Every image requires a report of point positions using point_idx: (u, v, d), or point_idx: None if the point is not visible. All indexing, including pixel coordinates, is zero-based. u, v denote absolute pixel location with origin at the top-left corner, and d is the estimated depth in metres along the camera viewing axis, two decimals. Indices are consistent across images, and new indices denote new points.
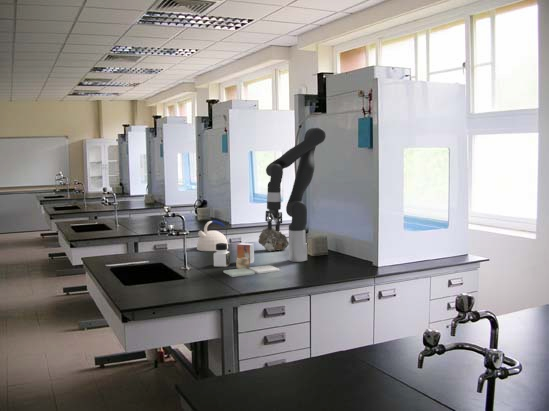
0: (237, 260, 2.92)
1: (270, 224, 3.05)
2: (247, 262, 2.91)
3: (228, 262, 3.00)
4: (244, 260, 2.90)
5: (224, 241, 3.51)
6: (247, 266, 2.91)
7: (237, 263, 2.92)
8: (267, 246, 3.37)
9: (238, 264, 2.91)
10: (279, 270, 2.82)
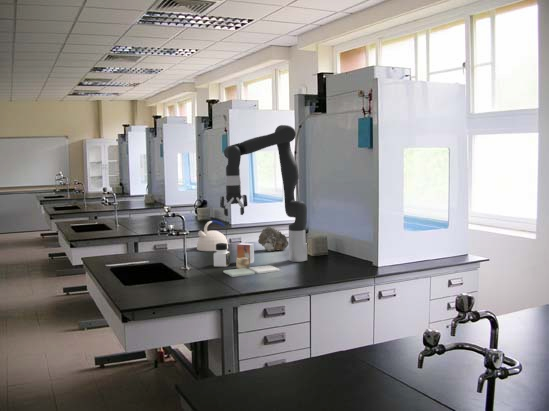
0: (237, 260, 2.92)
1: None
2: (247, 262, 2.91)
3: (228, 262, 3.00)
4: (244, 260, 2.90)
5: (224, 241, 3.51)
6: (247, 266, 2.91)
7: (237, 263, 2.92)
8: (267, 246, 3.38)
9: (238, 264, 2.91)
10: (279, 270, 2.82)
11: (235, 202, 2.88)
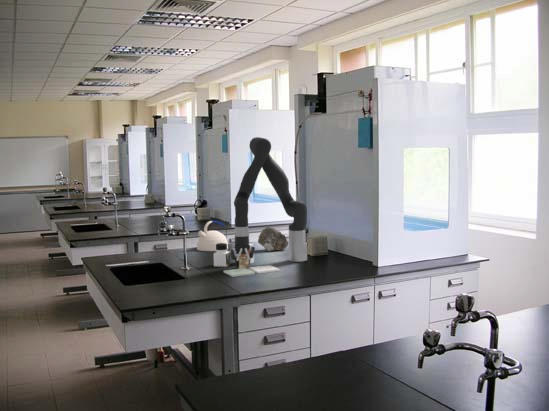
0: None
1: None
2: (247, 262, 2.91)
3: (228, 262, 3.00)
4: (244, 260, 2.90)
5: (224, 241, 3.51)
6: (247, 266, 2.91)
7: None
8: (266, 246, 3.38)
9: None
10: (279, 270, 2.82)
11: (242, 252, 2.91)
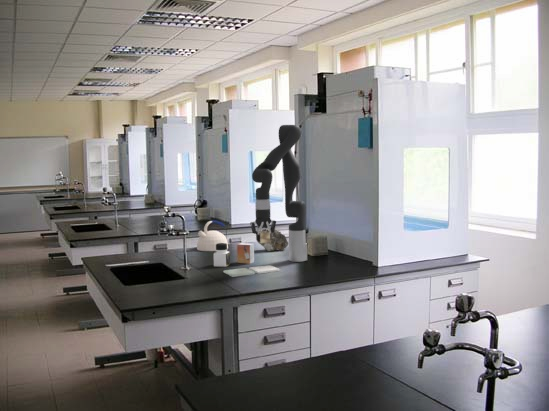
0: None
1: None
2: (268, 236, 2.82)
3: (228, 262, 3.00)
4: (265, 234, 2.81)
5: (224, 241, 3.51)
6: (268, 240, 2.82)
7: None
8: (266, 246, 3.38)
9: None
10: (279, 270, 2.82)
11: (264, 226, 2.82)
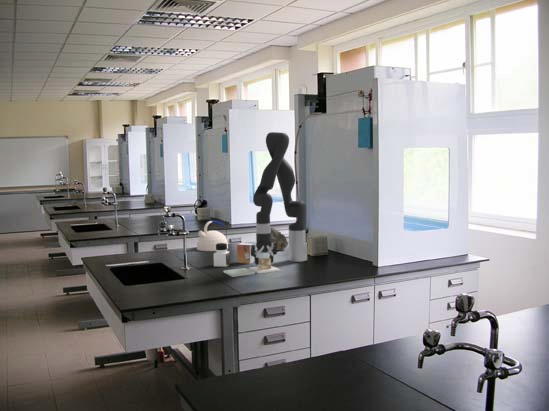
0: (259, 260, 2.84)
1: None
2: (269, 262, 2.83)
3: (228, 262, 3.00)
4: (266, 260, 2.82)
5: (224, 241, 3.51)
6: (269, 266, 2.83)
7: (259, 263, 2.84)
8: None
9: (260, 264, 2.83)
10: (279, 270, 2.82)
11: (265, 250, 2.83)
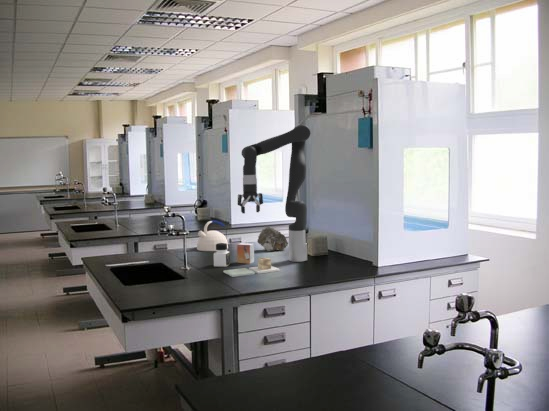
0: (259, 260, 2.84)
1: None
2: (269, 262, 2.83)
3: (228, 262, 3.00)
4: (266, 260, 2.82)
5: (224, 241, 3.51)
6: (269, 266, 2.83)
7: (259, 263, 2.84)
8: (266, 246, 3.38)
9: (260, 264, 2.83)
10: (279, 270, 2.82)
11: (252, 200, 3.02)
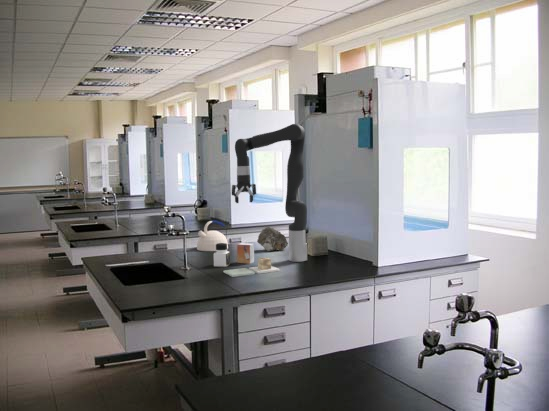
0: (259, 260, 2.84)
1: None
2: (269, 262, 2.83)
3: (228, 262, 3.00)
4: (266, 260, 2.82)
5: (224, 241, 3.51)
6: (269, 266, 2.83)
7: (259, 263, 2.84)
8: (266, 246, 3.38)
9: (260, 264, 2.83)
10: (279, 270, 2.82)
11: (245, 190, 3.15)
